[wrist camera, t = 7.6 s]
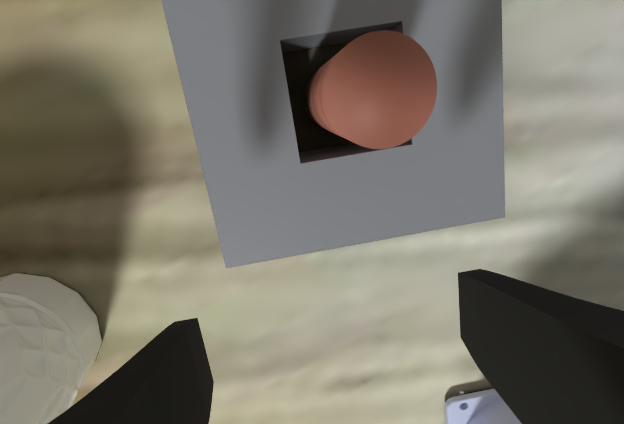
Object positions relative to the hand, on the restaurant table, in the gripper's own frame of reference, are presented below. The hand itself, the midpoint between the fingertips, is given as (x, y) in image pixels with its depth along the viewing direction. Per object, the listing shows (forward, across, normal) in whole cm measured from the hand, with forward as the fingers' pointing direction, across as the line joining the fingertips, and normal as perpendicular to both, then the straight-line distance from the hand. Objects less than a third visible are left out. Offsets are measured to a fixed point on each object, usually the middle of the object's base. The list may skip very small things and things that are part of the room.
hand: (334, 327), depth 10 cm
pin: (+9, -2, -6) cm, 11 cm away
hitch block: (+9, -2, -6) cm, 11 cm away
